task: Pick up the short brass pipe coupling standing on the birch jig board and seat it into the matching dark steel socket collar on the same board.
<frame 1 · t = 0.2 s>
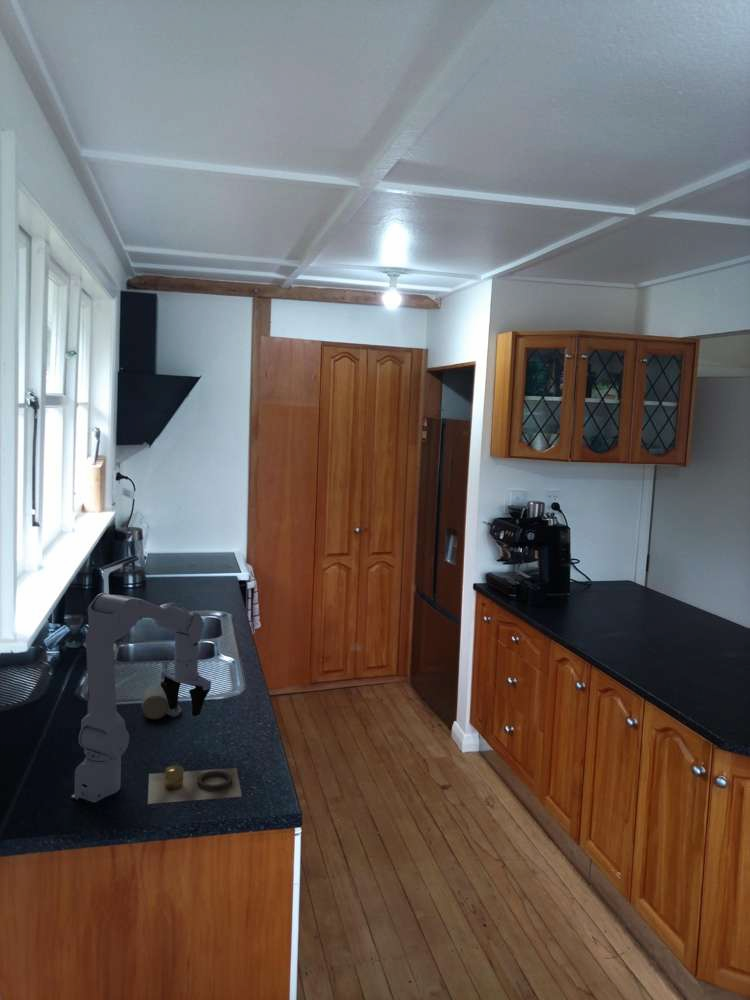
hand: (184, 711, 194), 10 cm above the worktop, tool pointing down, fingers open, 7 cm apart
brass fitting: (173, 786, 174), point 1 cm above the worktop, touching jig board
soda can: (101, 720, 211), on the worktop
ceramic mug: (160, 715, 216), on the worktop
jig board: (194, 789, 175), on the worktop
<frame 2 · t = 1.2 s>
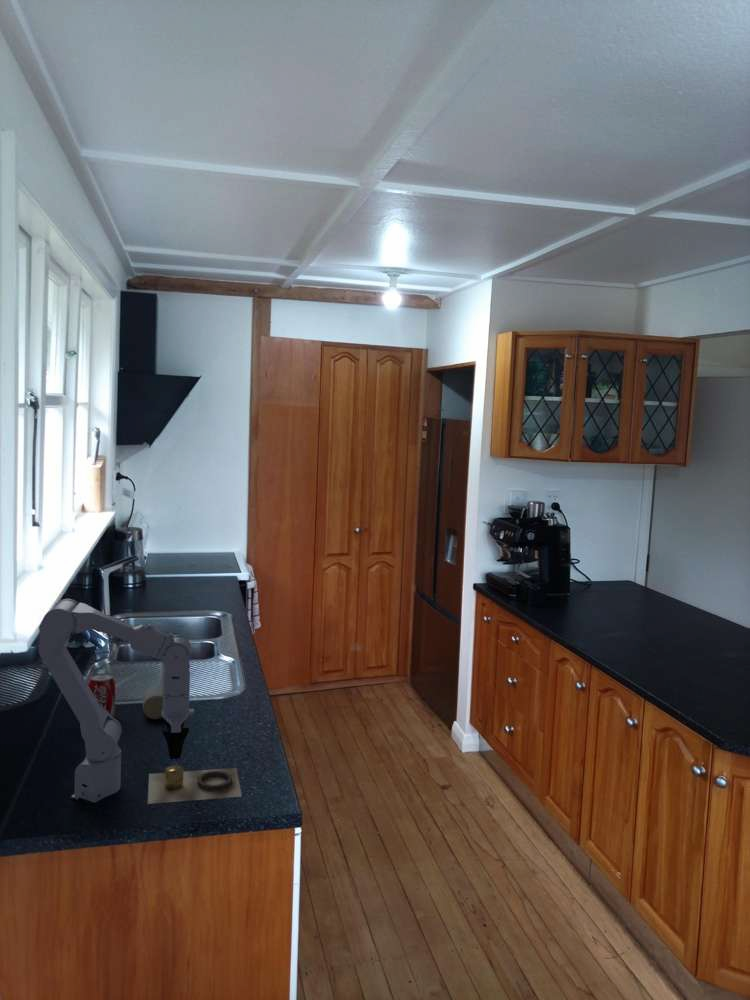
hand: (174, 750, 173), 9 cm above the worktop, tool pointing down, fingers open, 7 cm apart
nothing on the worktop moved.
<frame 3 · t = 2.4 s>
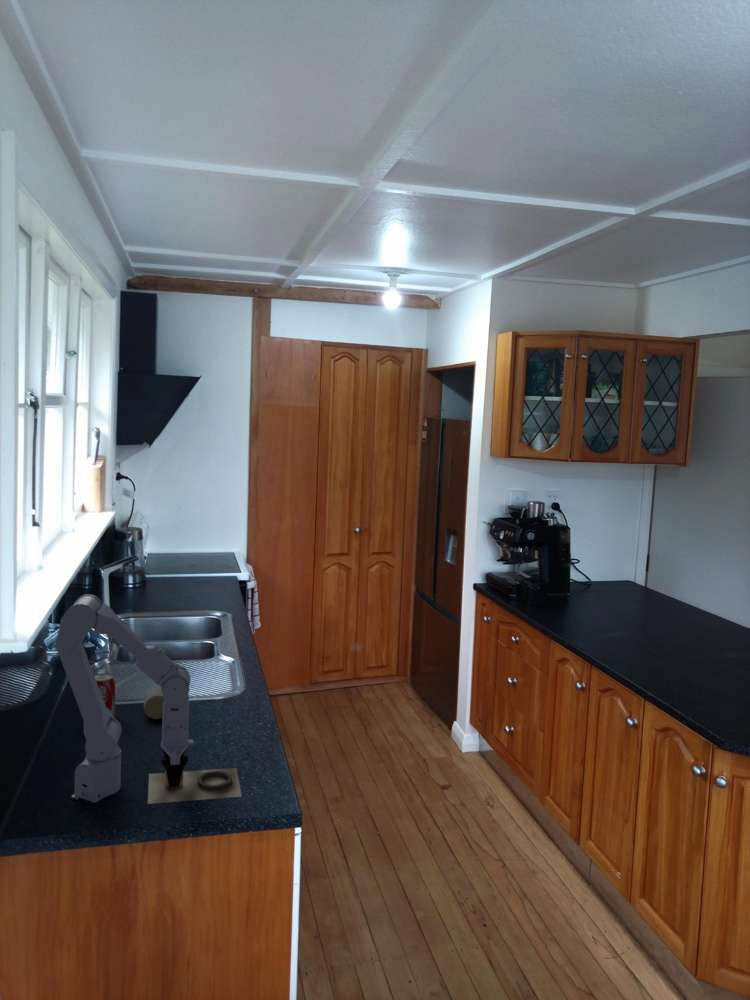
hand: (174, 781, 174), 2 cm above the worktop, tool pointing down, fingers closed on brass fitting, 4 cm apart
brass fitting: (173, 786, 174), point 1 cm above the worktop, touching gripper, jig board
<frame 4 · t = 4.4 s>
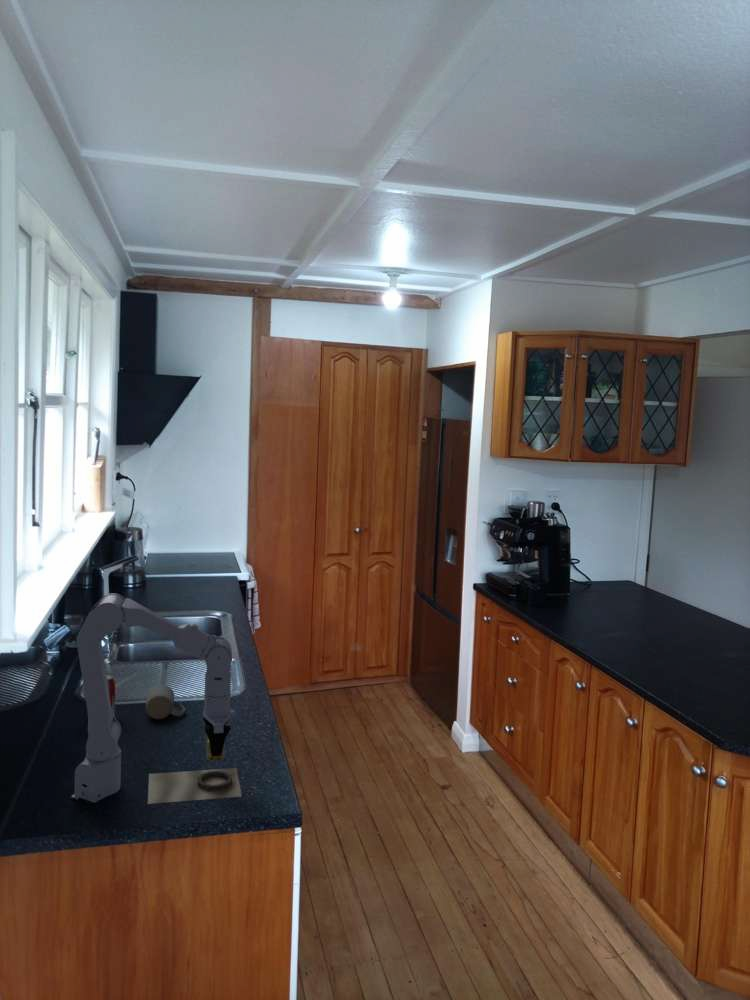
hand: (215, 750, 175), 9 cm above the worktop, tool pointing down, fingers closed on brass fitting, 4 cm apart
brass fitting: (215, 756, 176), point 7 cm above the worktop, touching gripper
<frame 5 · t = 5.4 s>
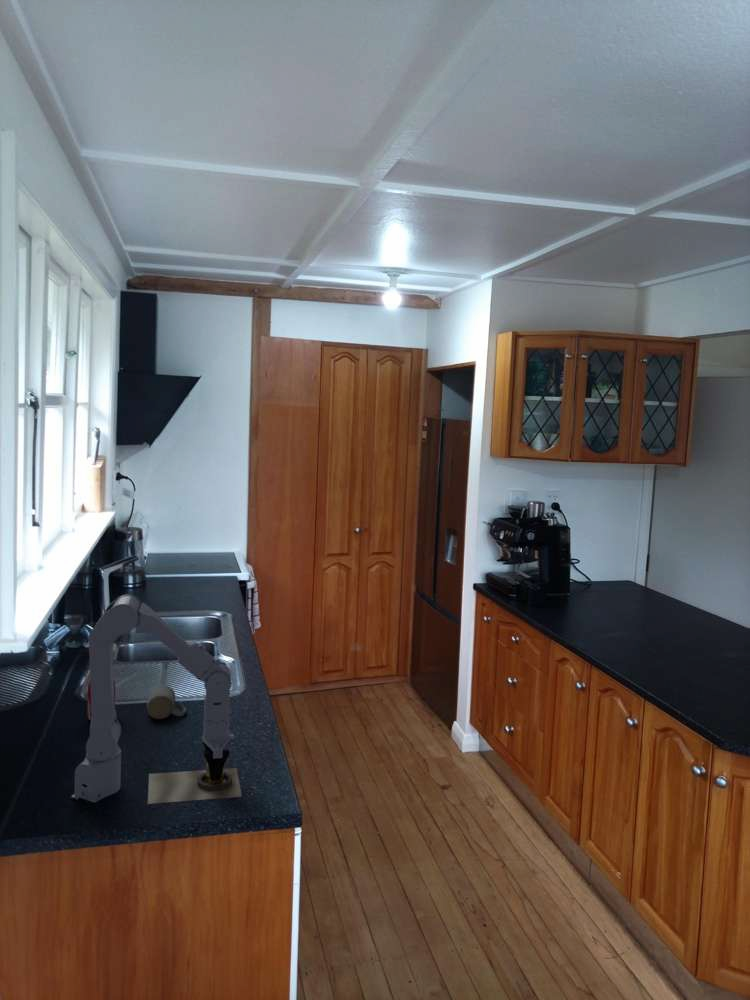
hand: (214, 775, 176), 3 cm above the worktop, tool pointing down, fingers closed on brass fitting, 4 cm apart
brass fitting: (214, 780, 176), point 2 cm above the worktop, touching gripper
when the fingers open (3 cm above the worktop, at t = 6.2 s): brass fitting stays where it is, resting on jig board.
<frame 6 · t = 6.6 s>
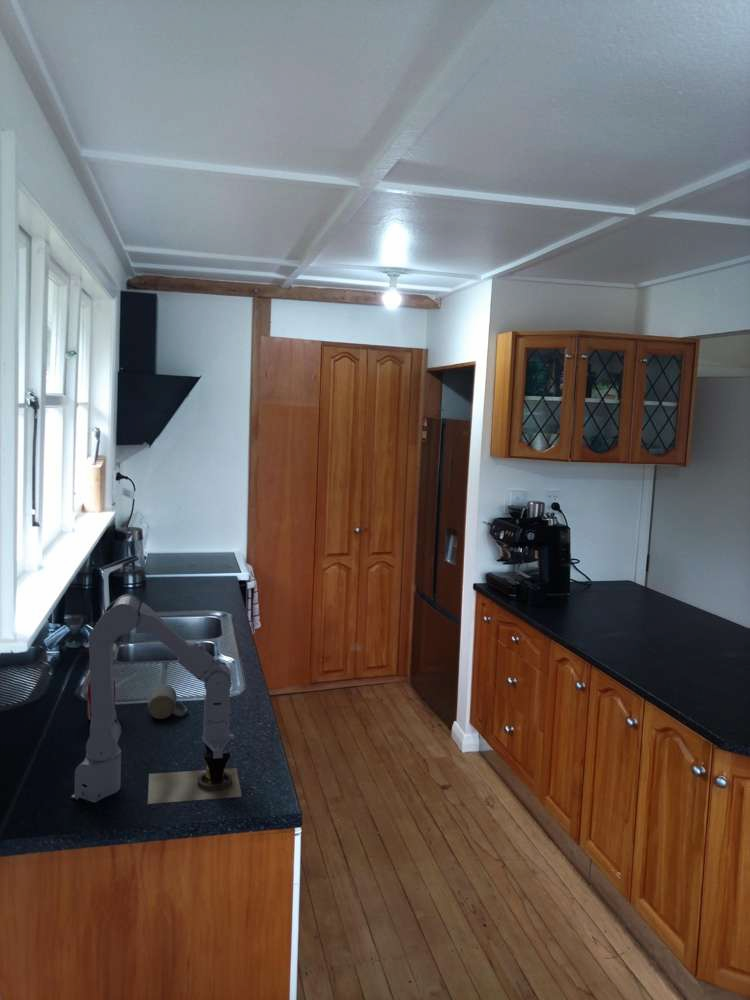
hand: (214, 775, 176), 3 cm above the worktop, tool pointing down, fingers open, 7 cm apart
brass fitting: (214, 783, 176), point 1 cm above the worktop, touching jig board
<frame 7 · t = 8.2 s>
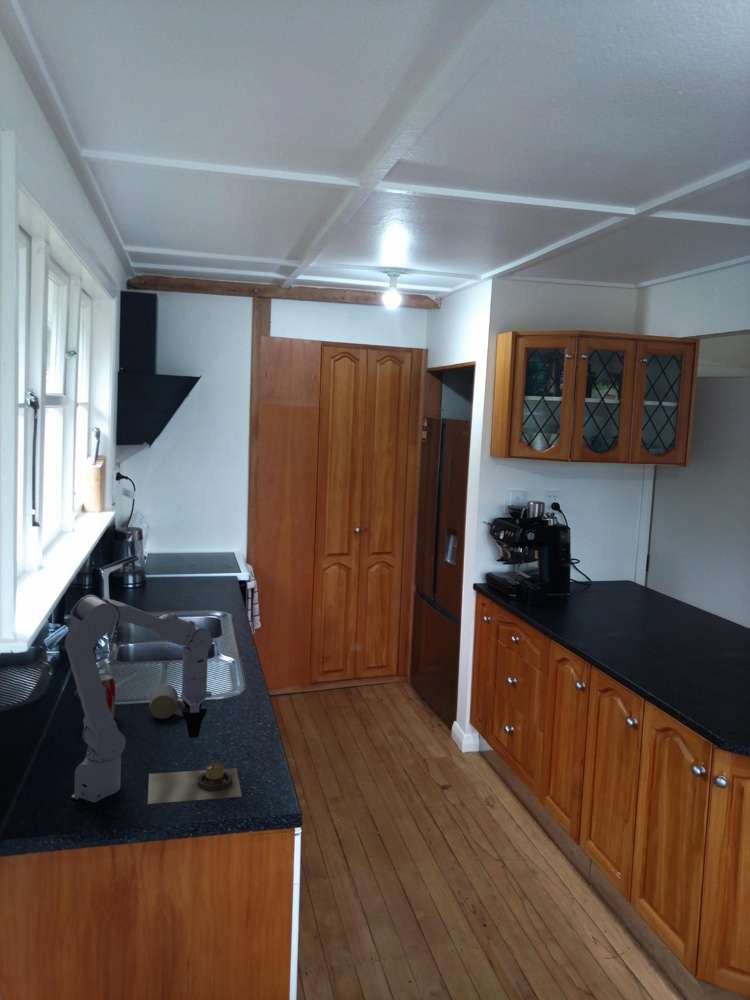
hand: (193, 730, 184), 9 cm above the worktop, tool pointing down, fingers open, 7 cm apart
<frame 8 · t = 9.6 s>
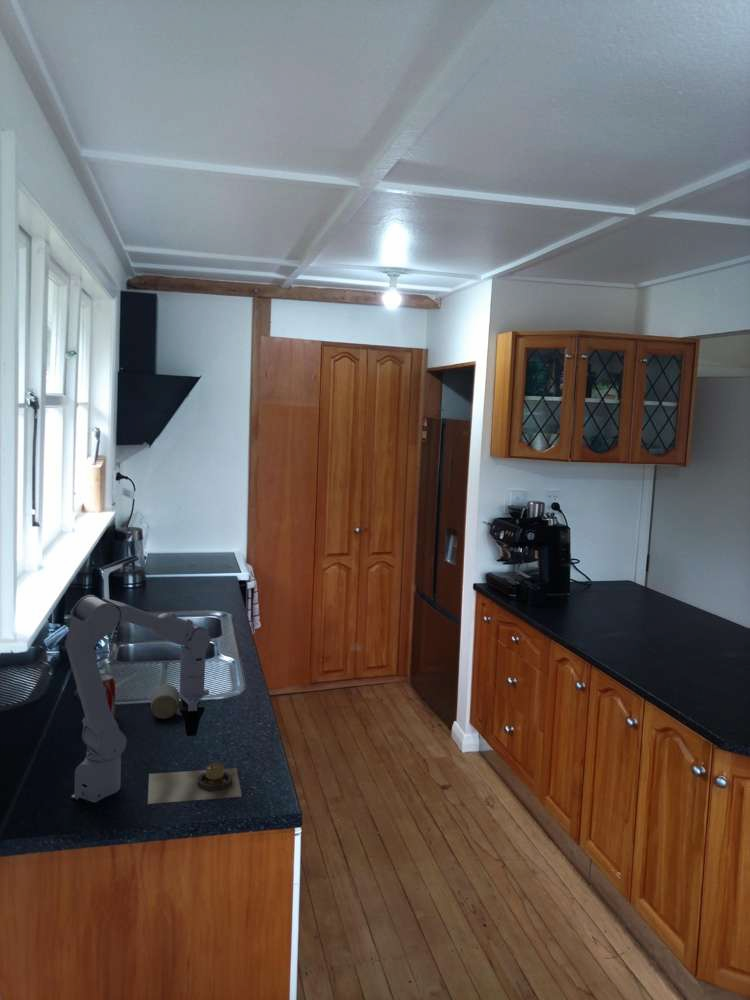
hand: (190, 728, 185), 9 cm above the worktop, tool pointing down, fingers open, 7 cm apart
at the end: brass fitting 0.1 cm from the target spot on the jig board, point 1.0 cm above the jig board's base; brass fitting tilted 0°; the gripper is holding nothing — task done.
